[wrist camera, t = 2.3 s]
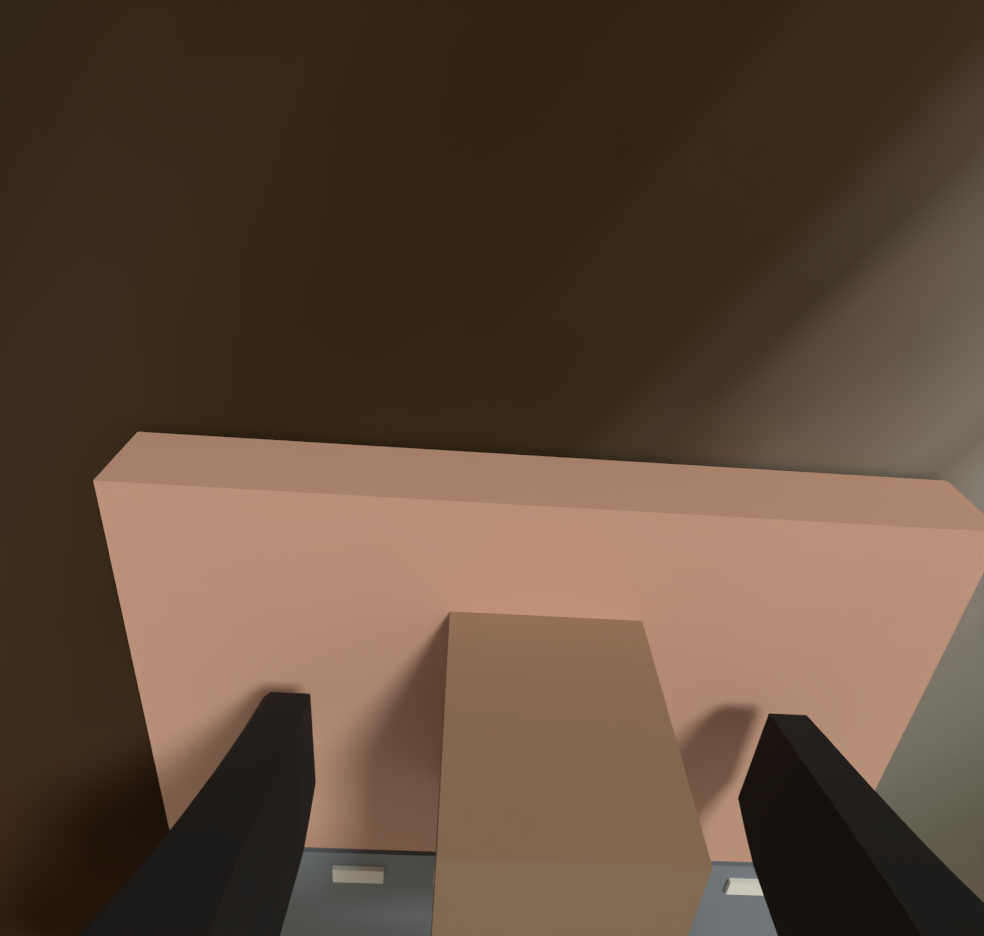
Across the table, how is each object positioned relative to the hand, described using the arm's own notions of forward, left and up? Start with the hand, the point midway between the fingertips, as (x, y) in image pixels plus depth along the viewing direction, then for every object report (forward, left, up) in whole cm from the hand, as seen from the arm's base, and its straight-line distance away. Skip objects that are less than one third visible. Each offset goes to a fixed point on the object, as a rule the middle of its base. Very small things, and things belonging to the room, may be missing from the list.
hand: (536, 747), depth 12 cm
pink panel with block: (0, 0, -2) cm, 2 cm away
